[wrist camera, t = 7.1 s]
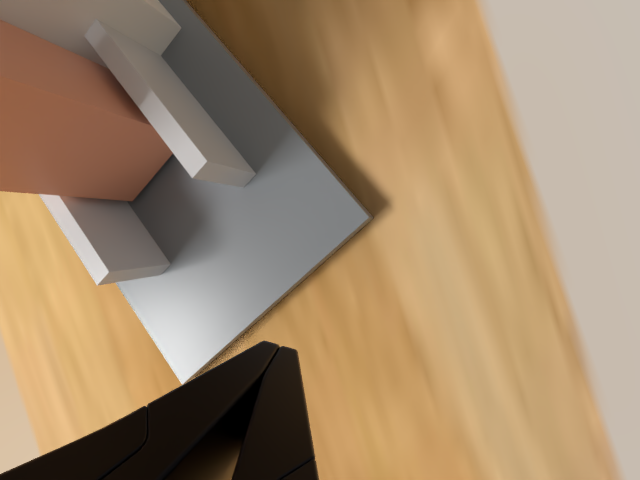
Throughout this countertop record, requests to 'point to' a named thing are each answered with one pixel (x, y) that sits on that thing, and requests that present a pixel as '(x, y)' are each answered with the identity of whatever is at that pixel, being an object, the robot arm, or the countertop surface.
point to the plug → (69, 125)
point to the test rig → (195, 180)
